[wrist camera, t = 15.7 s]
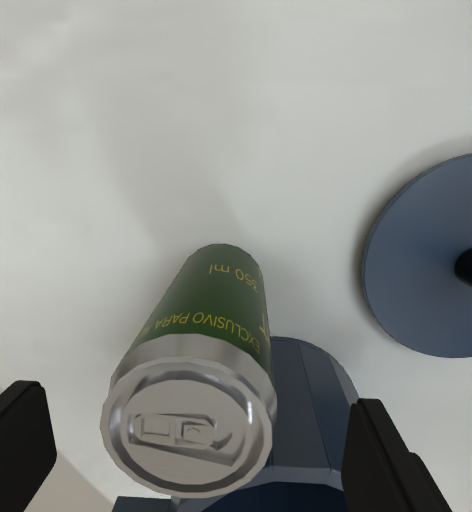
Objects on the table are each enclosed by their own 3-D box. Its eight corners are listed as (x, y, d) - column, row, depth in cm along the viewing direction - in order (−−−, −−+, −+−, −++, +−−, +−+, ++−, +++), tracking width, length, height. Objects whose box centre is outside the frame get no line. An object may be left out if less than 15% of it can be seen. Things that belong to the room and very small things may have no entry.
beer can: (180, 311, 21) (95, 493, 9) (184, 236, 19) (87, 342, 8) (257, 320, 21) (268, 513, 9) (267, 245, 19) (295, 366, 8)
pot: (157, 331, 21) (89, 455, 12) (404, 341, 21) (524, 479, 12) (165, 457, 25) (116, 627, 16) (377, 469, 24) (454, 652, 15)
